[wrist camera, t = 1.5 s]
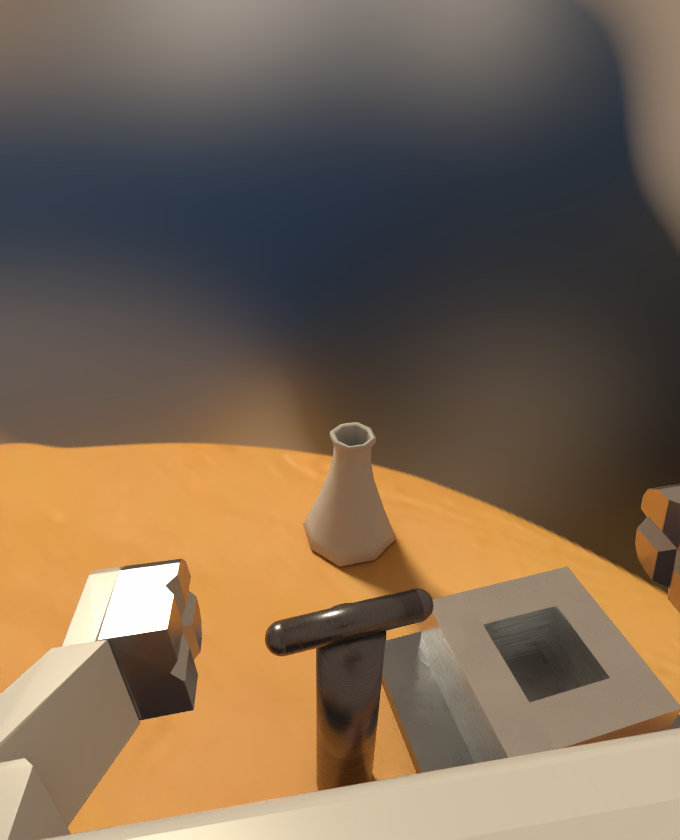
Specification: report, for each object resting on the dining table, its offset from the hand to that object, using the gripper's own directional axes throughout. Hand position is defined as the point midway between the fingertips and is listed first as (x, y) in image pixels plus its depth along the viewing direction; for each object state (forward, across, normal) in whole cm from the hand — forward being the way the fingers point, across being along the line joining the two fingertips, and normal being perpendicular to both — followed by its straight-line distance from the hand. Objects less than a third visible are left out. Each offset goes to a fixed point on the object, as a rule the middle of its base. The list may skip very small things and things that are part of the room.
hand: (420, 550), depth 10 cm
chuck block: (+15, -9, +27) cm, 32 cm away
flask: (+30, 0, +24) cm, 39 cm away
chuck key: (+12, +2, +26) cm, 28 cm away
